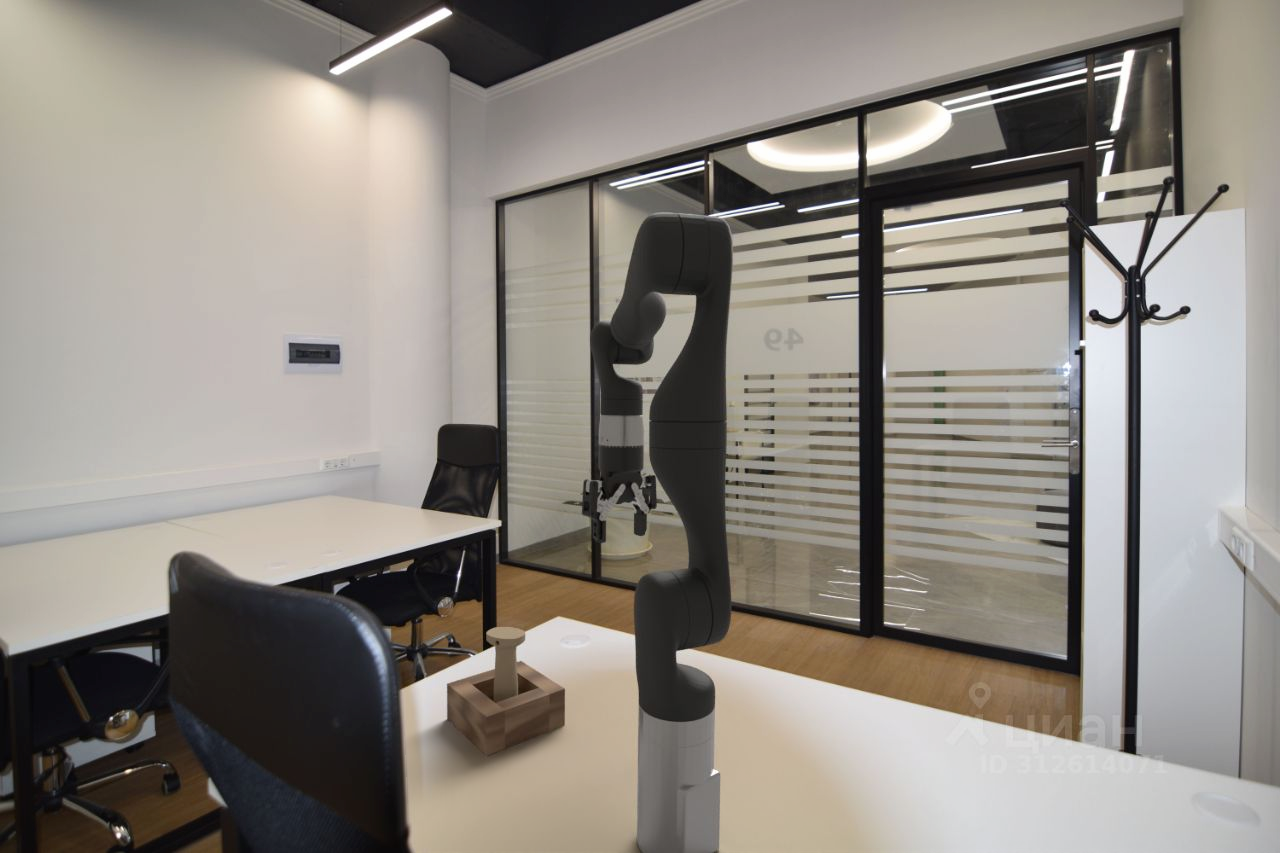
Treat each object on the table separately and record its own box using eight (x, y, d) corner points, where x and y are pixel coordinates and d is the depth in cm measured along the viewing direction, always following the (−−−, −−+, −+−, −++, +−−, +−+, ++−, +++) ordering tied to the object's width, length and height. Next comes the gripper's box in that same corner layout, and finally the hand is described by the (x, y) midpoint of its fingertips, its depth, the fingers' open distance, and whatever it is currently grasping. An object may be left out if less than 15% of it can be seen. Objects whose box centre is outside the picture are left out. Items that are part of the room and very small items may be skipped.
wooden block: (564, 724, 103) (564, 688, 103) (486, 755, 94) (486, 716, 93) (521, 693, 113) (521, 660, 113) (447, 718, 104) (447, 683, 104)
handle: (514, 733, 100) (514, 641, 99) (480, 724, 102) (480, 634, 102) (530, 718, 105) (530, 630, 104) (498, 711, 107) (498, 624, 106)
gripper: (601, 445, 97) (600, 549, 98) (667, 442, 106) (666, 536, 107) (573, 442, 102) (572, 540, 103) (638, 439, 112) (637, 529, 113)
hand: (620, 538), depth 105 cm, fingers open, 8 cm apart
